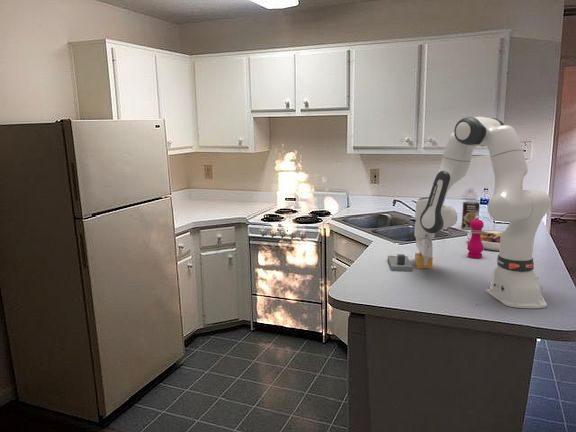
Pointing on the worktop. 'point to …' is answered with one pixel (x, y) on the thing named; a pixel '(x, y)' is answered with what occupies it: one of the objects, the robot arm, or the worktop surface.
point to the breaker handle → (400, 258)
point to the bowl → (489, 239)
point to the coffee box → (469, 214)
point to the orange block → (420, 261)
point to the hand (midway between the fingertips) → (423, 262)
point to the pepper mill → (475, 239)
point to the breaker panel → (399, 267)
